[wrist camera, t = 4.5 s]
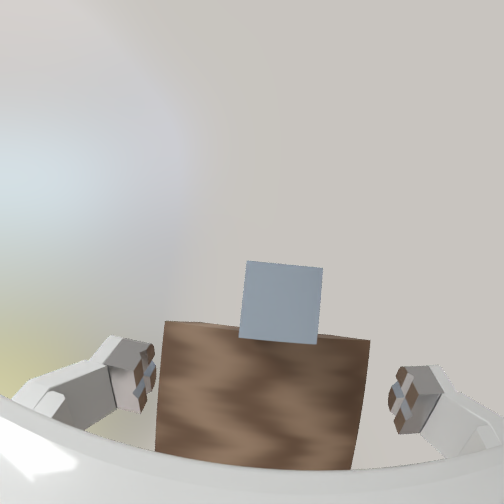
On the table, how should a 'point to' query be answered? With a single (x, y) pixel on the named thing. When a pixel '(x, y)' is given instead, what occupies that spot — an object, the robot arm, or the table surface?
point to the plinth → (259, 398)
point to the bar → (281, 303)
